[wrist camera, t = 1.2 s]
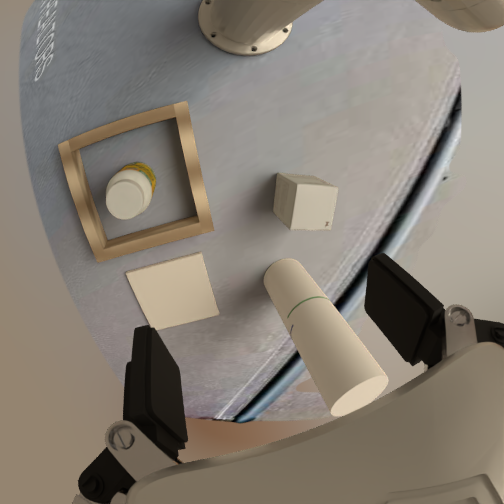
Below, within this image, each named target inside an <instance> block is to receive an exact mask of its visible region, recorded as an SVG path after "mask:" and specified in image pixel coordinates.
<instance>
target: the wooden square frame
mask: <svg viewBox="0 0 504 504" xmlns="http://www.w3.org/2000/svg"><path fill="white" fill-rule="evenodd" d="M172 118H176V119H177V124H178V129H179V134H180V139H181V144H182V148H183V153H184V158H185V162H186V167H187V171H188V175H189V180H190V184H191V188H192V193H193V197H194V201H195V205H196V209H197V213H198V215H196V216H193V217H189V218H185V219H181V220H177V221H174V222H170V223H166V224H163V225H159V226H156V227H152V228H148V229H145V230H142V231H138V232H135V233H131V234H128V235H124V236H121V237H118V238H115V239H111V240H107V237H106V234H105V232H104V229H103V226H102V224H101V221H100V218H99V215H98V212H97V209H96V206H95V203H94V200H93V197H92V194H91V191H90V188H89V184H88V181H87V177H86V174H85V170H84V167H83V163H82V159H81V155H80V151H79V149H81V148H83V147H86V146H88V145H91V144H93V143H96V142H98V141H101V140H104V139H107V138H109V137H112V136H115V135H118V134H121V133H124V132H127V131H130V130H133V129H136V128H140V127H143V126H146V125H150V124H153V123H157V122H160V121H164V120H168V119H172ZM58 147H59V152H60V156H61V159H62V163H63V167H64V171H65V174H66V178H67V181H68V184H69V188H70V191H71V194H72V197H73V200H74V203H75V206H76V209H77V212H78V215H79V217H80V220H81V223H82V226H83V228H84V231H85V233H86V236H87V239H88V241H89V243H90V246H91V248H92V251H93V253H94V255H95V258H96V260H97V262H98V263H99V262H102V261H105V260H109V259H112V258H116V257H119V256H123V255H126V254H130V253H133V252H137V251H140V250H144V249H147V248H151V247H155V246H158V245H162V244H166V243H169V242H173V241H177V240H180V239H184V238H188V237H192V236H196V235H199V234H203V233H207V232H211V231H214V227H213V222H212V218H211V214H210V209H209V205H208V200H207V196H206V191H205V187H204V182H203V178H202V173H201V168H200V164H199V159H198V154H197V149H196V144H195V139H194V134H193V129H192V124H191V119H190V114H189V109H188V104H187V101H185V102H180V103H176V104H172V105H168V106H164V107H160V108H157V109H153V110H149V111H146V112H143V113H139V114H136V115H133V116H130V117H127V118H124V119H121V120H118V121H115V122H112V123H109V124H106V125H104V126H101V127H98V128H96V129H93V130H91V131H88V132H86V133H83V134H81V135H78V136H76V137H74V138H71V139H69V140H67V141H65V142H63V143H60V144H58Z"/></svg>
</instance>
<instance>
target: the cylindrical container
mask: <svg viewBox="0 0 504 504" xmlns="http://www.w3.org/2000/svg"><path fill="white" fill-rule="evenodd" d="M264 286H265V288H266V290H267V292H268V294H269V296H270V298H271V300H272V302H273V304H274V305H275V307H276V309H277V311H278V313H279V315H280V317H281V319H282V321H283V323H284V325H285V327H286V328H287V330H288V332H289V334H290V336H291V338H292V340H293V342H294V344H295V346H296V348H297V350H298V351H299V353H300V355H301V357H302V359H303V361H304V363H305V365H306V367H307V369H308V371H309V373H310V375H311V376H312V378H313V380H314V382H315V384H316V386H317V387H318V390H319V392H320V393H321V395H322V397H323V399H324V401H325V403H326V405H327V407H328V409H329V411H330V412H331V414H332V415H333V416H344V415H347V414H349V413H351V412H353V411H355V410H357V409H359V408H362V407H364V406H366V405H367V404H369V403H370V402H372V401H373V400H374V399H375V398H376V397H378V396H379V395H380V393H381V392H382V391H383V390H384V389H385V387H386V386H387V384H388V377H387V375H386V374H385V373H384V371H383V370H382V369H381V367H380V366H379V365H378V363H377V362H376V361H375V359H374V358H373V357H372V355H371V354H370V353H369V351H368V350H367V349H366V347H365V346H364V345H363V343H362V342H361V341H360V339H359V338H358V337H357V335H356V334H355V333H354V331H353V330H352V329H351V327H350V326H349V325H348V324H347V322H346V321H345V320H344V318H343V317H342V316H341V315H340V313H339V312H338V311H337V309H336V308H335V307H334V306H333V304H332V303H331V302H330V300H329V299H328V298H327V297H326V295H325V294H324V293H323V291H322V290H321V289H320V288H319V286H318V285H317V284H316V283H315V281H314V280H313V279H312V278H311V276H310V275H309V274H308V273H307V271H306V270H305V269H304V268H303V266H302V265H301V264H300V263H299V262H298V261H296V260H294V259H288V258H287V259H281V260H279V261H277V262H275V263H273V264H272V265H271V266H270V267H269V268H268V269H267V271H266V273H265V275H264Z"/></svg>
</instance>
